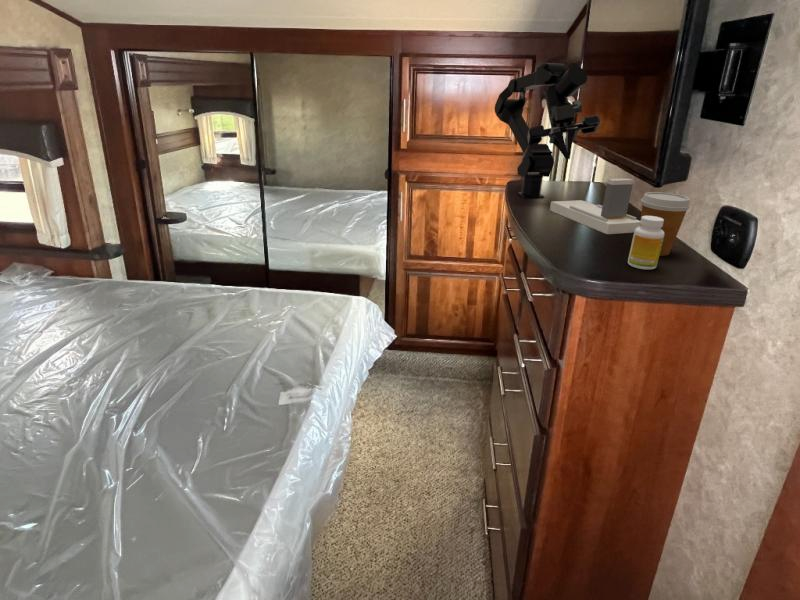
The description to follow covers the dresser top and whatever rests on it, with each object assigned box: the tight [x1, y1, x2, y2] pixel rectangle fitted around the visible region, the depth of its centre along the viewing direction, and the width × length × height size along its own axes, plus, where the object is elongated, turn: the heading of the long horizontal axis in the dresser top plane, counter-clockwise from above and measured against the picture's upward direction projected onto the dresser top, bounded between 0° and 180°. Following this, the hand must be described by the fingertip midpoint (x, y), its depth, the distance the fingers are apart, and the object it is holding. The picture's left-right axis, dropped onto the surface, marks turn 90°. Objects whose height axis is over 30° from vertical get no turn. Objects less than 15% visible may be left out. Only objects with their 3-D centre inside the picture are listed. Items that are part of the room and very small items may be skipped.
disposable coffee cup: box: [640, 191, 692, 257], centre depth 110 cm, size 10×10×12 cm
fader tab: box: [601, 178, 634, 218], centre depth 127 cm, size 2×6×9 cm, turn 109°
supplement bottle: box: [627, 216, 664, 271], centre depth 102 cm, size 5×5×10 cm
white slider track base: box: [549, 199, 641, 235], centre depth 135 cm, size 24×10×3 cm, turn 19°
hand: (568, 158), depth 142 cm, fingers closed
